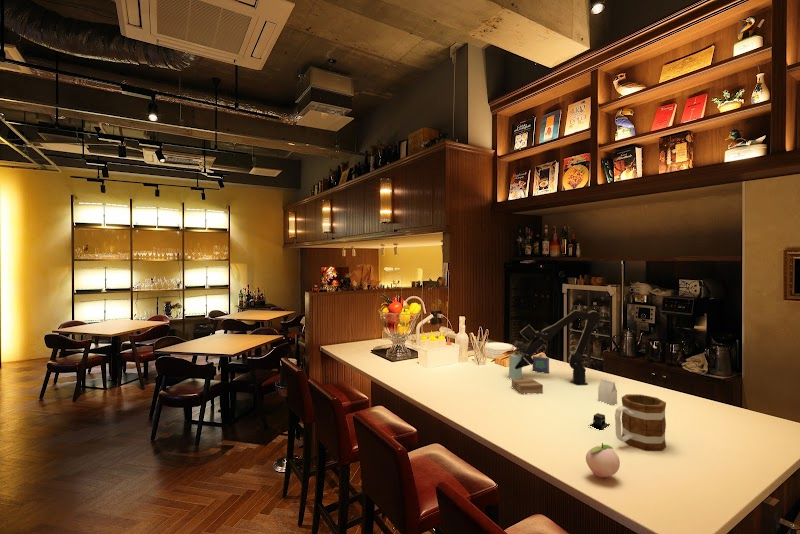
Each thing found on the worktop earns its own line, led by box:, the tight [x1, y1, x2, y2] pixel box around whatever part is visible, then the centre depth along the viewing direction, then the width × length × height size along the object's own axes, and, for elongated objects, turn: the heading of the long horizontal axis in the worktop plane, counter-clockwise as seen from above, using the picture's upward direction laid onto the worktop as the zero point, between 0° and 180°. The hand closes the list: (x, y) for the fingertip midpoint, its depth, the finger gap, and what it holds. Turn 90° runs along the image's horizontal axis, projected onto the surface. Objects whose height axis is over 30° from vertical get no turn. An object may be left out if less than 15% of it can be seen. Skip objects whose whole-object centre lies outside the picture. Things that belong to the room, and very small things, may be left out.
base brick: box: [511, 378, 544, 395], centre depth 202 cm, size 11×11×4 cm
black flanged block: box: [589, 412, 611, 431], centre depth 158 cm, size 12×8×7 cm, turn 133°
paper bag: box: [597, 378, 618, 406], centre depth 185 cm, size 4×7×10 cm, turn 24°
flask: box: [532, 353, 550, 374], centre depth 237 cm, size 9×3×11 cm, turn 61°
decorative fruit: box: [585, 442, 621, 479], centre depth 119 cm, size 9×8×10 cm
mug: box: [614, 393, 667, 452], centre depth 141 cm, size 20×14×15 cm
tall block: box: [508, 353, 523, 381], centre depth 222 cm, size 5×5×13 cm
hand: (513, 366), depth 223 cm, fingers open, 9 cm apart
